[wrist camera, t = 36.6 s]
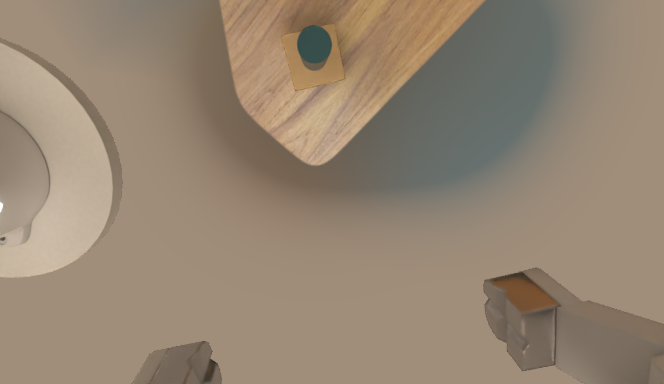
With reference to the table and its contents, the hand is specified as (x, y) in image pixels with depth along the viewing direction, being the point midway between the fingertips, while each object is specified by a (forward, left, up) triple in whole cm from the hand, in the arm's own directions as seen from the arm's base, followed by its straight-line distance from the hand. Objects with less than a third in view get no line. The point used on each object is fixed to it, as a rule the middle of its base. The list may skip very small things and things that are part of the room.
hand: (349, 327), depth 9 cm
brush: (+1, +9, -31) cm, 32 cm away
